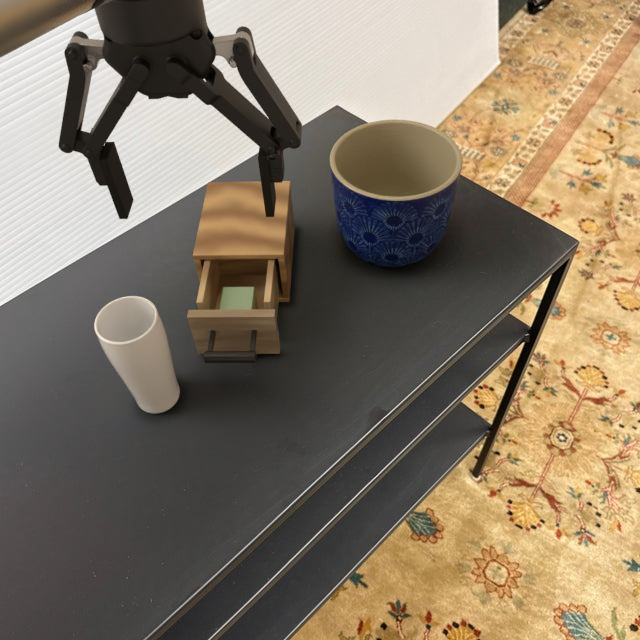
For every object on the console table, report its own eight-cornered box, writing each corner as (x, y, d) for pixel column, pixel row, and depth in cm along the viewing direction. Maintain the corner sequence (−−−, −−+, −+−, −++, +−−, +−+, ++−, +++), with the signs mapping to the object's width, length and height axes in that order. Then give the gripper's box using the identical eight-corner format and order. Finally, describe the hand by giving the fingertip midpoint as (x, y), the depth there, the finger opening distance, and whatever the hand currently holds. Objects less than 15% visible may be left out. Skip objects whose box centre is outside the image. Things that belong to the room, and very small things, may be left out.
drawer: (277, 383, 78) (271, 347, 73) (192, 383, 79) (180, 347, 73) (286, 275, 90) (281, 237, 84) (212, 276, 90) (202, 238, 85)
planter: (349, 296, 88) (349, 210, 76) (320, 216, 99) (315, 130, 87) (466, 272, 90) (483, 184, 78) (426, 196, 101) (435, 109, 89)
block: (224, 331, 83) (219, 310, 79) (227, 307, 85) (223, 286, 82) (255, 330, 82) (251, 310, 79) (257, 307, 85) (254, 286, 82)
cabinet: (289, 302, 88) (283, 254, 81) (205, 302, 88) (192, 255, 81) (294, 229, 97) (290, 180, 90) (218, 230, 98) (208, 181, 91)
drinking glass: (133, 377, 81) (96, 298, 69) (187, 371, 81) (159, 291, 70) (129, 424, 77) (89, 348, 65) (186, 417, 77) (156, 340, 65)
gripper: (-61, -2, 42) (55, 237, 58) (322, -14, 41) (331, 234, 57) (-19, -49, 47) (77, 184, 63) (325, -61, 46) (332, 180, 62)
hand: (198, 208), depth 60 cm, fingers open, 13 cm apart
